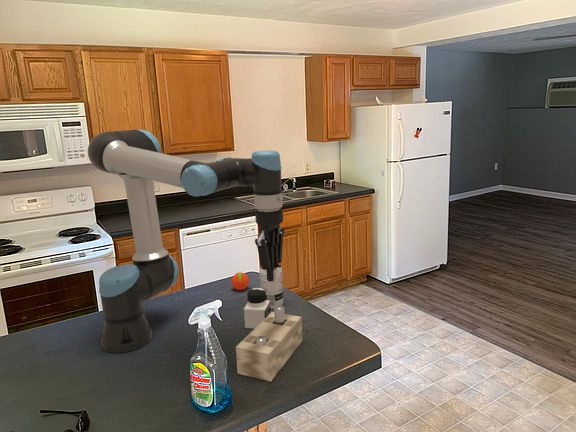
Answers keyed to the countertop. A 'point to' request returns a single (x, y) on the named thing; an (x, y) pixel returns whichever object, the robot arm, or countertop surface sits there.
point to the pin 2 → (279, 315)
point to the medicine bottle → (256, 308)
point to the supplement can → (273, 297)
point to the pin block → (269, 347)
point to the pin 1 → (261, 340)
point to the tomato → (240, 281)
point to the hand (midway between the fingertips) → (273, 290)
